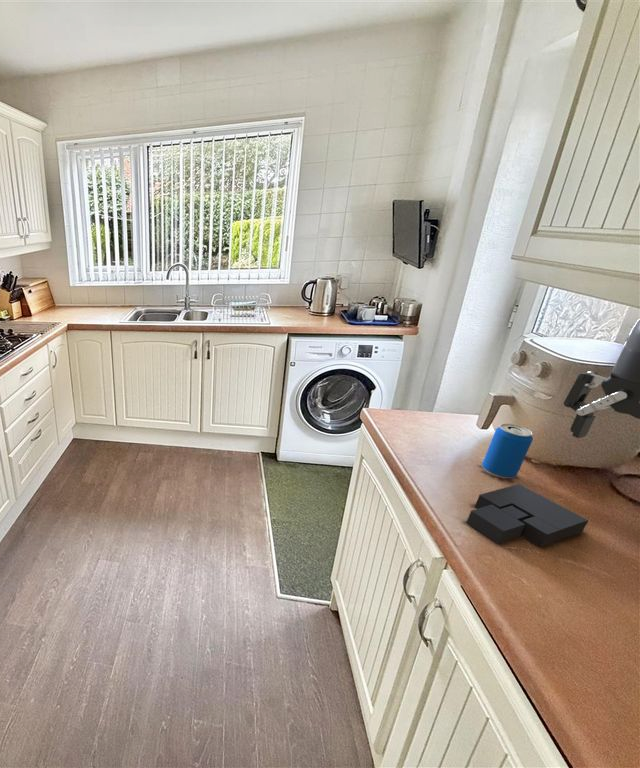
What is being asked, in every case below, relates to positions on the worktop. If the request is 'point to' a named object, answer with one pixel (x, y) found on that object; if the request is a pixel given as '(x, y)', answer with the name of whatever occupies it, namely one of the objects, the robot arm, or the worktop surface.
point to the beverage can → (507, 450)
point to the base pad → (536, 514)
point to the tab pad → (498, 522)
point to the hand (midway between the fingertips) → (614, 449)
